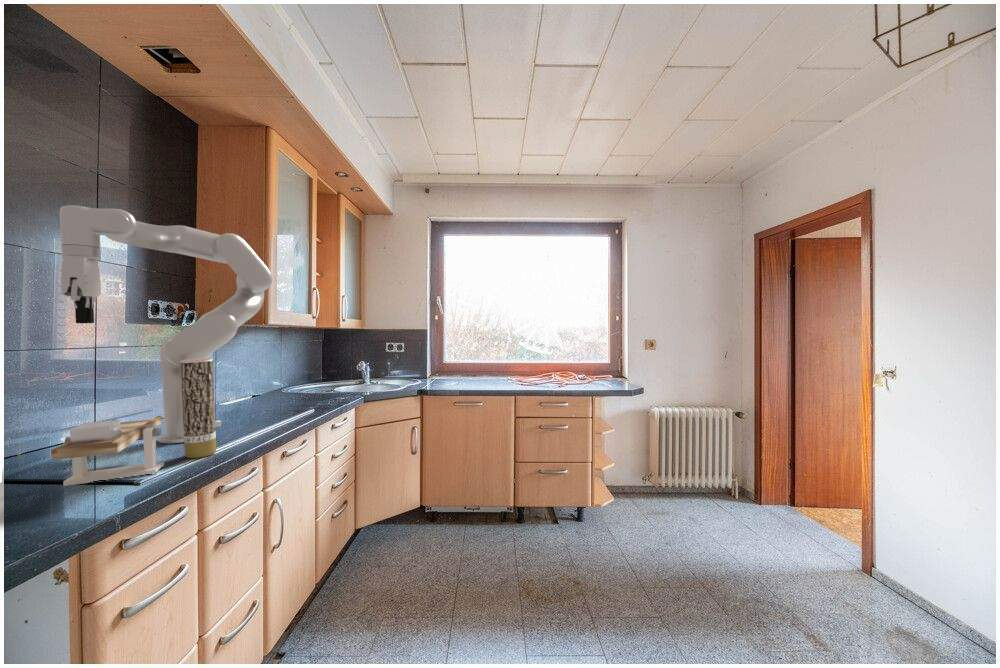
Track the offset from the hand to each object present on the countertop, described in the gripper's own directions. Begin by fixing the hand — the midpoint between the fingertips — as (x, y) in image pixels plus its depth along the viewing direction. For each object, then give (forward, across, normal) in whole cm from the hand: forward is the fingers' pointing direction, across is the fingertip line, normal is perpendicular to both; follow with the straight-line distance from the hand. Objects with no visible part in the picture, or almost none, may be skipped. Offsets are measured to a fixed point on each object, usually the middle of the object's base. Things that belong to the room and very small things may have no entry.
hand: (85, 323), depth 115 cm
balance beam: (+30, +26, +14) cm, 41 cm away
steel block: (+26, +34, +14) cm, 45 cm away
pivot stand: (+35, +26, +14) cm, 46 cm away
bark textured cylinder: (+35, +16, +28) cm, 48 cm away
